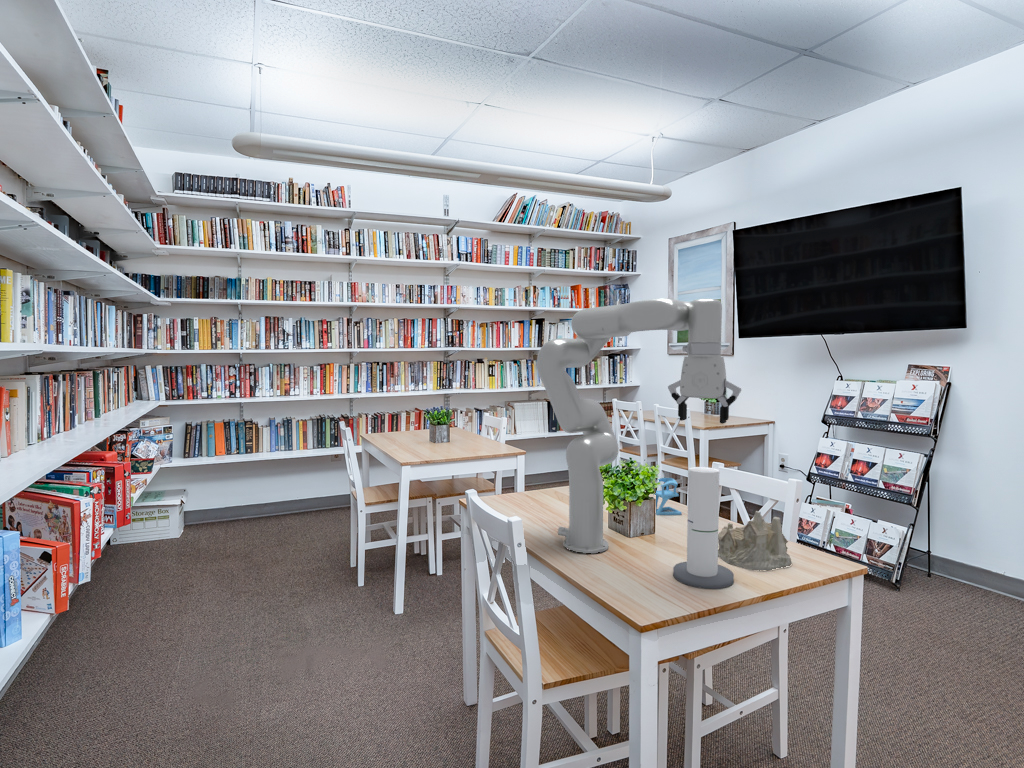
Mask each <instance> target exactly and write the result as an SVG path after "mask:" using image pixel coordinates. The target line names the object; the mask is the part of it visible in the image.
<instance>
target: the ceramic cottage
mask: <svg viewBox="0 0 1024 768" xmlns="http://www.w3.org/2000/svg"><path fill="white" fill-rule="evenodd" d="M753 515H754V516H753V518H752V519H753V520H748V521H747V522H746V524H745V525H744V526H740V527H738V526H736V527H735V528H734V525H733V523H732V522H727V526H726V525H725V526H723V528H722V529H721V530H720V531H718V558H720V559H721V560H723V561H724V562H725V563H727V564H729V565H732V566H736V567H737V568H741V569H745V570H749V571H754V570H759V571H758V572H761V571H760V570H772V569H776V568H781V567H786V566H790V565H791V564H792V565H793V562H792V559H791V557H790V554H789V553H788V547H787V544H788V542H789V540H787V538H786V536H785V535H784V533H783V528H782V523H781V517H777V516H774V517H773V518H772V521H771V523H770V522H767V521H765V518H764V517H763V515H761V511H760V510H759V511H758V510H755V512H754V514H753ZM772 571H773V570H772Z"/></svg>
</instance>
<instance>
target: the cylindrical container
mask: <svg viewBox="0 0 1024 768" xmlns="http://www.w3.org/2000/svg"><path fill="white" fill-rule="evenodd" d="M687 471H688V472H687V473H688V475H687V530H686V531H687V532H686V533H687V535H686V536H687V537H686V538H687V539H686V544H687V545H686V546H687V547H686V562H687V571H688V572H689V573H691V574H693V575H696V576H702V577H712V576H715V575H717V573H718V565H719V556H718V550H719V543H718V534H719V522H720V521H719V520H720V519H719V518H720V517H719V515H720V514H719V513H720V512H719V511H720V509H719V508H720V469H718V468H714V467H707V466H693V467H688V470H687Z"/></svg>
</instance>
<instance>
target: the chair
mask: <svg viewBox="0 0 1024 768" xmlns="http://www.w3.org/2000/svg"><path fill="white" fill-rule="evenodd" d="M657 480H659V482H658V483H660V482H664V483H663V484H661V485H660V486H661V490H658V489H657V490H656V493H655V495H656V513H655V515H656V516H666V515H667V516H681V515H682V511H681V510H679V509H676V508H674V507H671V506H665V504H666V503H667V501H669V500H670V499H672V498H674V497H675V498H676V497H679V496H680V495H679V493H677V487H678V484H679V483H678V482H677V480H675V479H674V478H673V477H661V478H660V477H659V478H658V479H657ZM669 486H673V487H674V488H673V491H672V490H670V488H669ZM659 498H662V500H661V502H660V504H659V507H658V502H659ZM668 510H669V511H668Z"/></svg>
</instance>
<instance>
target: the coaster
mask: <svg viewBox="0 0 1024 768" xmlns="http://www.w3.org/2000/svg"><path fill="white" fill-rule="evenodd" d="M672 568H673V569H672V572H673V573H672V574H673V575H672V576H673V578H674V579H675V580H676V581H677V582H680V583H681V584H683V585H686V586H690V587H693V588H698V589H706V590H720V589H725V588H726V589H727V588H728V587H731V586H732V585H734V583H735V582H734V579H735V578H734V577H735V575H734V573H733V571H732V570H731V569H730V568H728V567H726V566H723V565H720V564H718V573H717V575H715V576H712V577H702V576H696V575H693V574H691V573H689V572H688V571H687V561H683V562H682V561H681V562H679V563H676V564H675V565H673V567H672Z"/></svg>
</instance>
